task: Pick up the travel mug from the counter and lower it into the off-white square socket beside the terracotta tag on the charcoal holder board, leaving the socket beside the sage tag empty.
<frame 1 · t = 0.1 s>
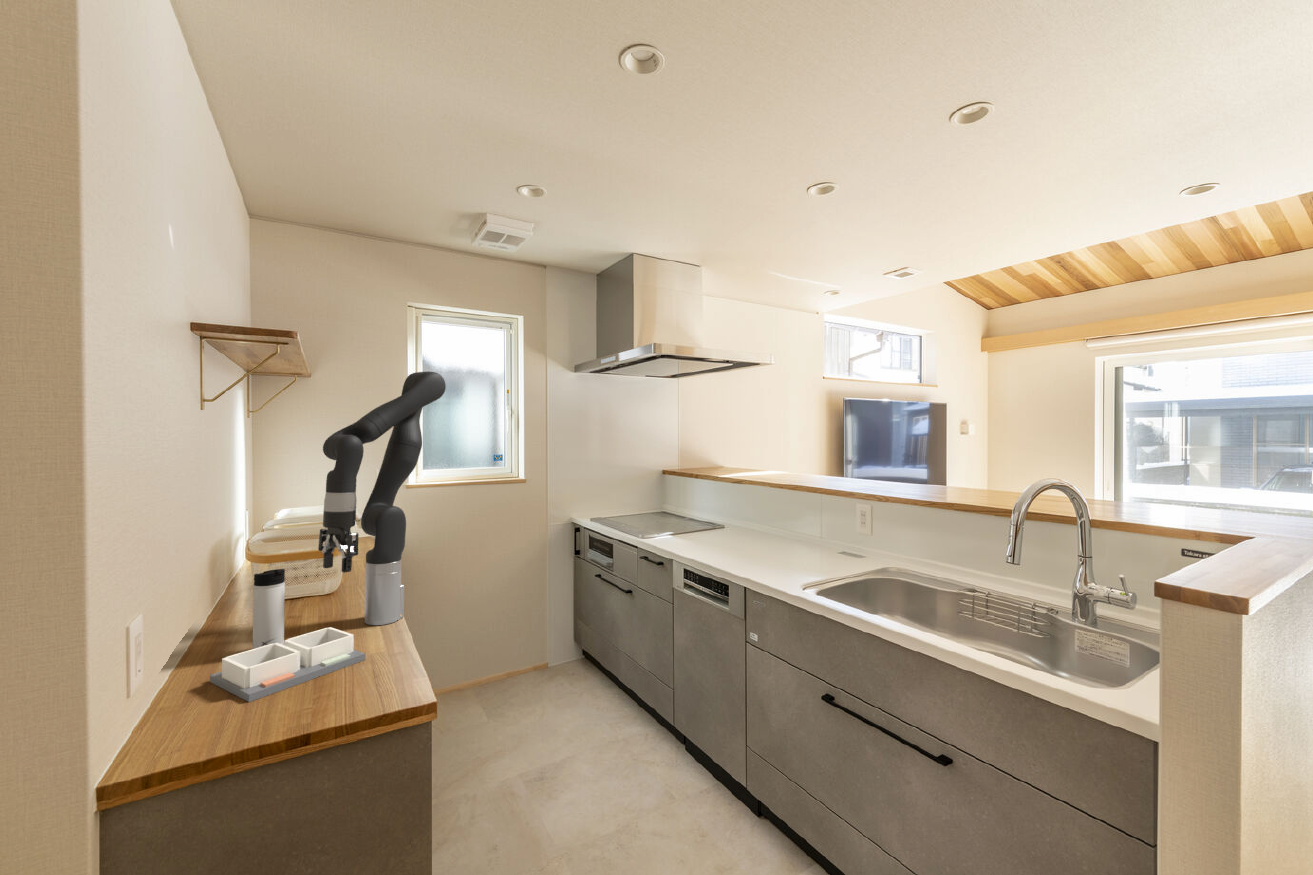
hand: (336, 569, 144), 17 cm above the counter, tool pointing down, fingers open, 8 cm apart
travel mug: (268, 651, 132), on the counter
holder board: (291, 670, 122), on the counter
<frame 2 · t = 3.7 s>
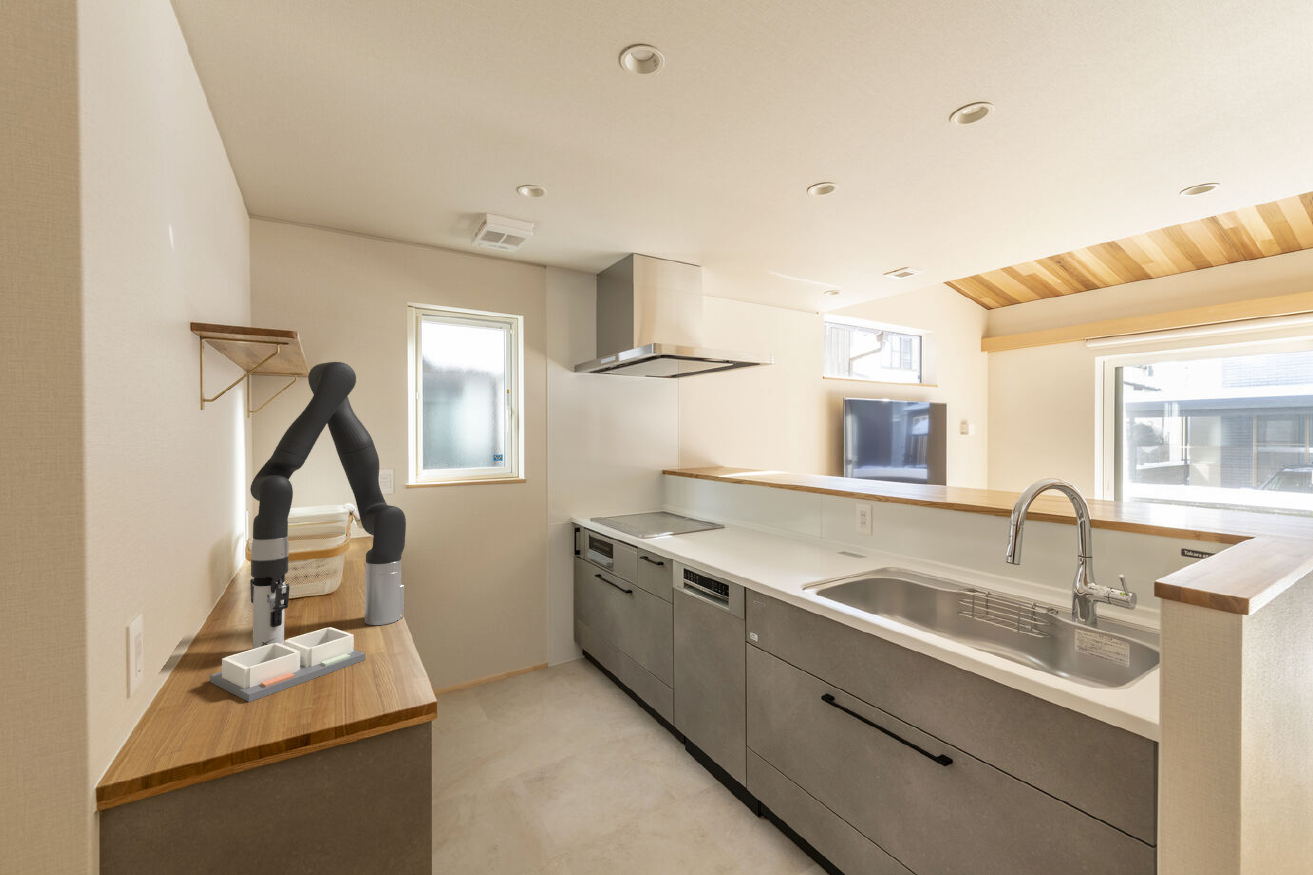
hand: (268, 623, 132), 7 cm above the counter, tool pointing down, fingers closed on travel mug, 6 cm apart
travel mug: (268, 651, 132), on the counter, touching gripper
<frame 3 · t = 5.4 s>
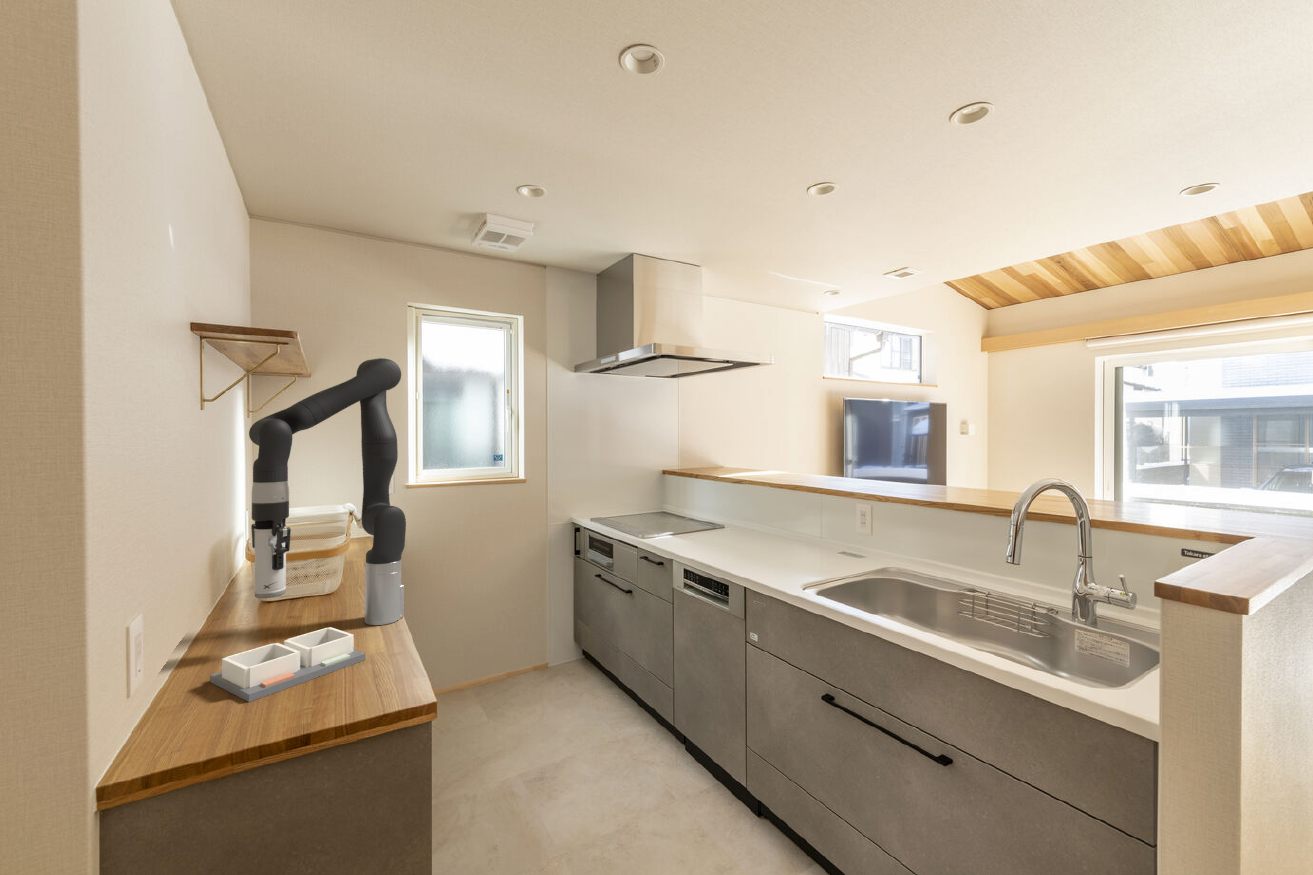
hand: (270, 567, 132), 20 cm above the counter, tool pointing down, fingers closed on travel mug, 6 cm apart
travel mug: (271, 595, 132), point 14 cm above the counter, touching gripper
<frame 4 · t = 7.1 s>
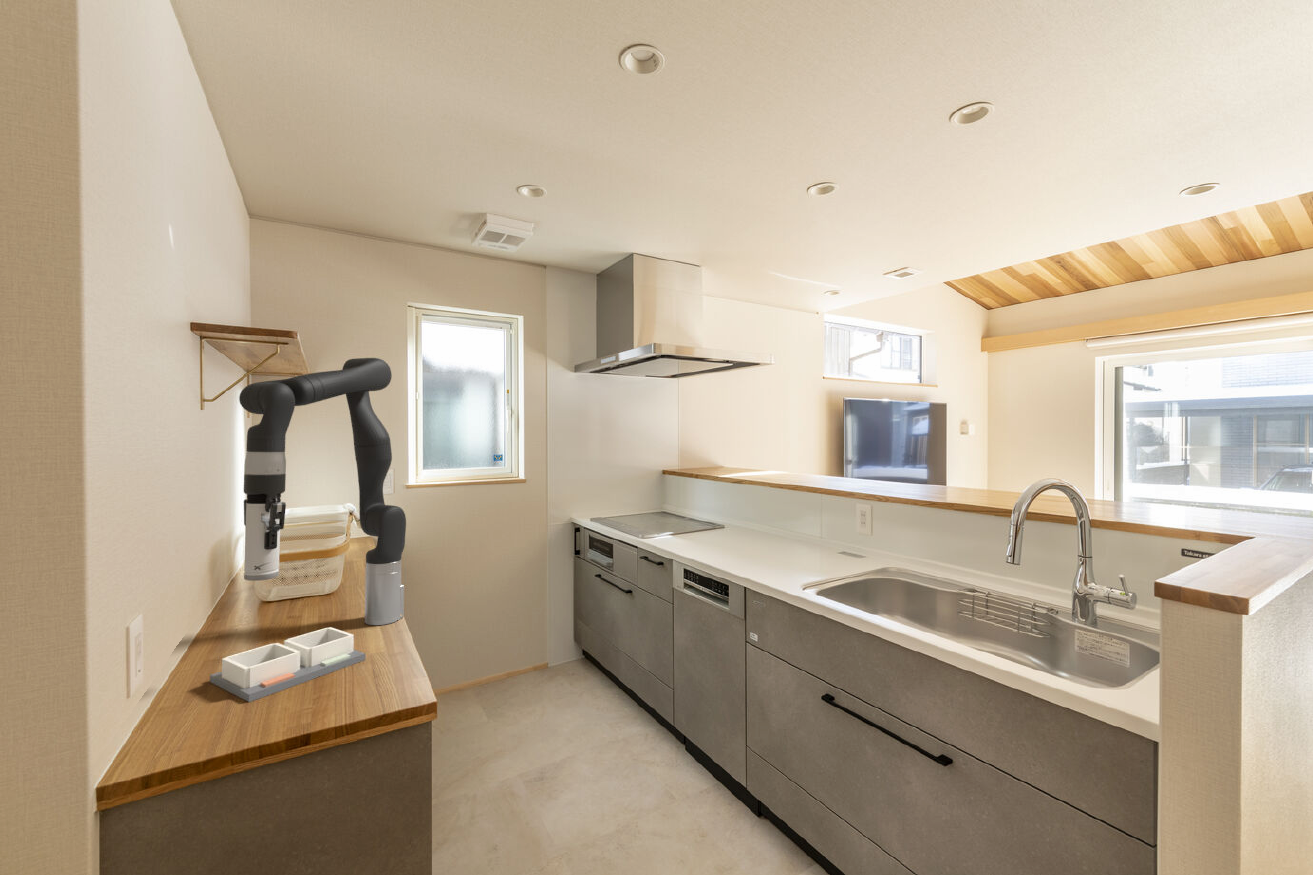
hand: (262, 547, 120), 28 cm above the counter, tool pointing down, fingers closed on travel mug, 6 cm apart
travel mug: (262, 578, 119), point 21 cm above the counter, touching gripper
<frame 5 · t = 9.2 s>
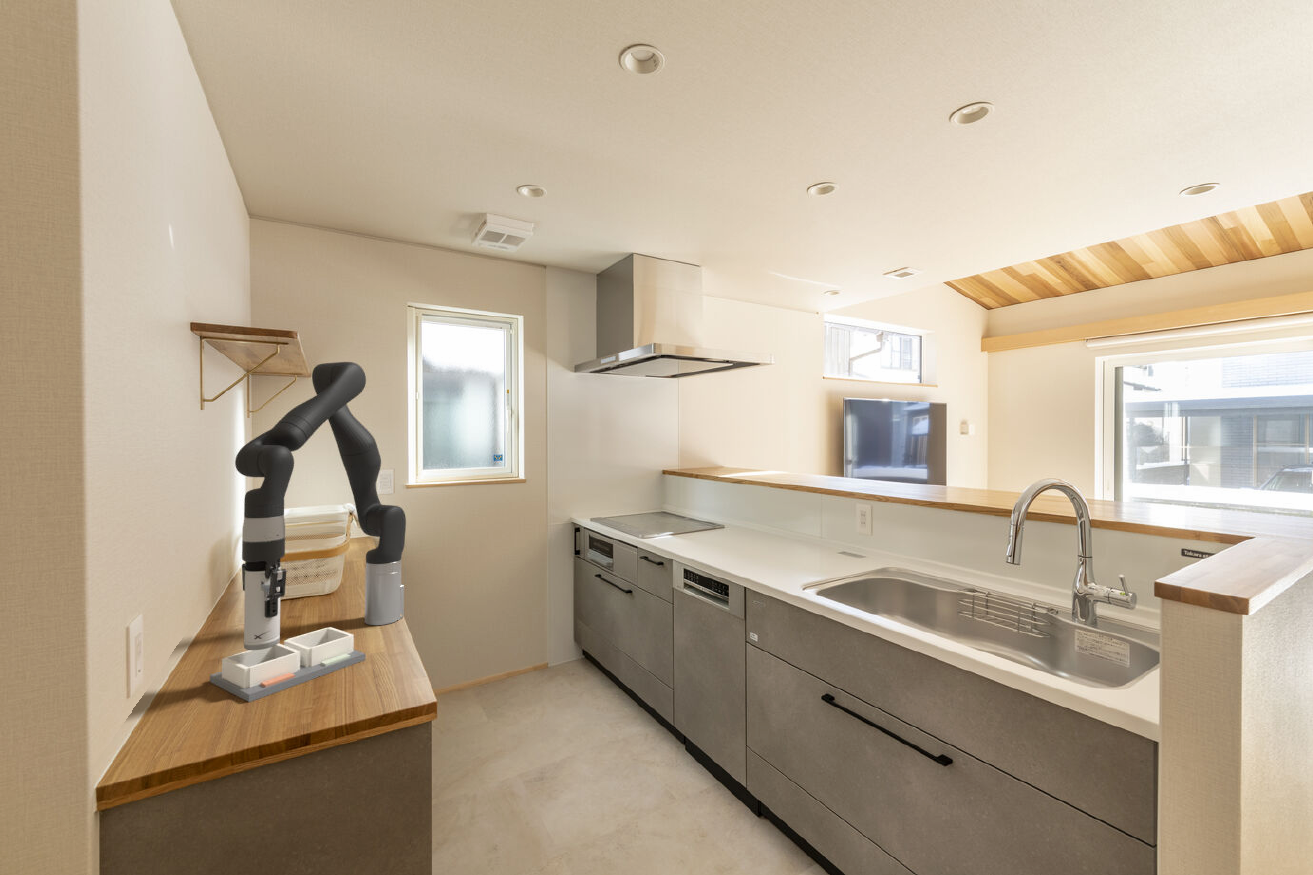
hand: (263, 613, 117), 14 cm above the counter, tool pointing down, fingers closed on travel mug, 6 cm apart
travel mug: (262, 645, 116), point 7 cm above the counter, touching gripper
when the fingers open (10 cm above the counter, at t = 10.8 s): travel mug drops 1 cm, resting on holder board.
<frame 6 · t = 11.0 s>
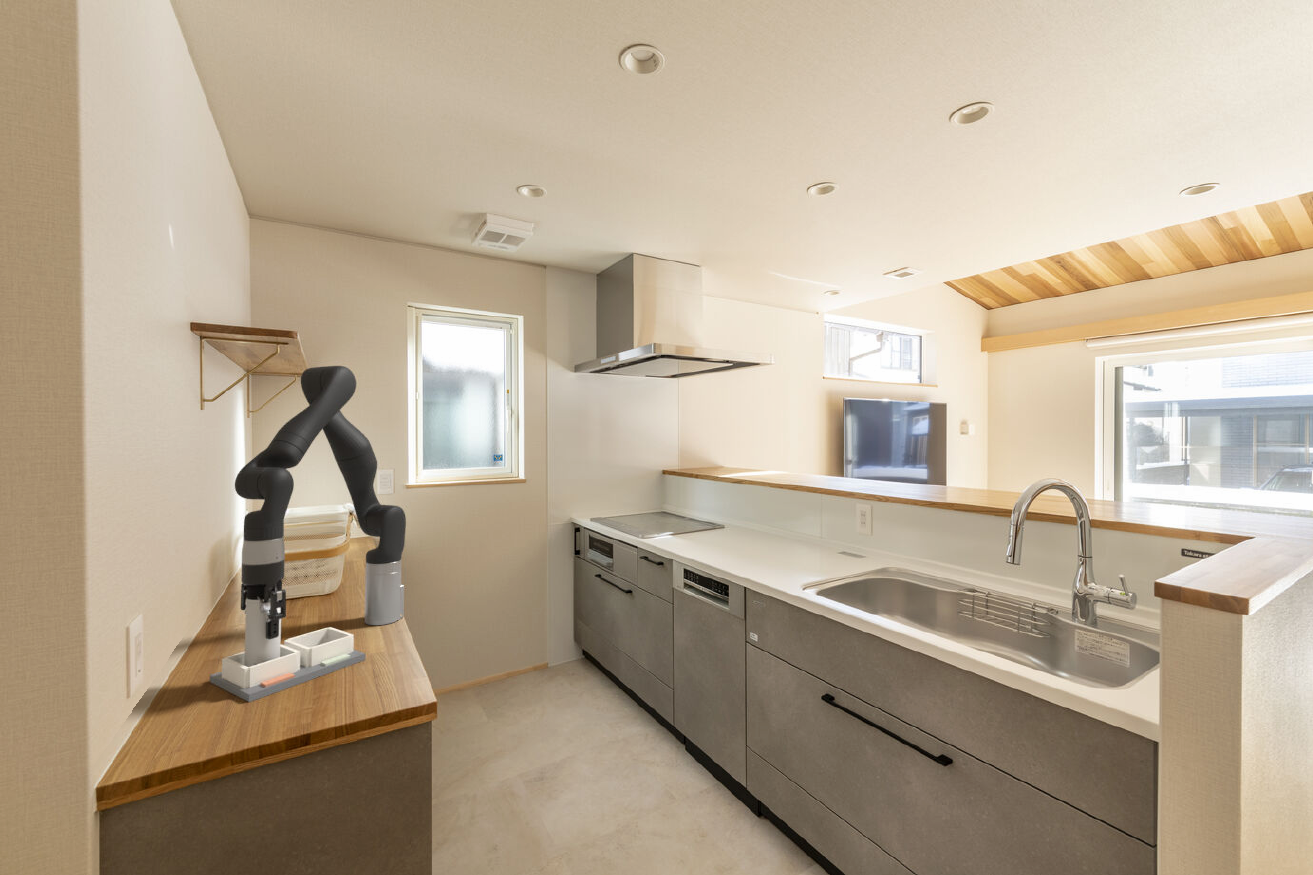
hand: (262, 634, 116), 10 cm above the counter, tool pointing down, fingers open, 8 cm apart
travel mug: (262, 674, 116), point 1 cm above the counter, touching holder board
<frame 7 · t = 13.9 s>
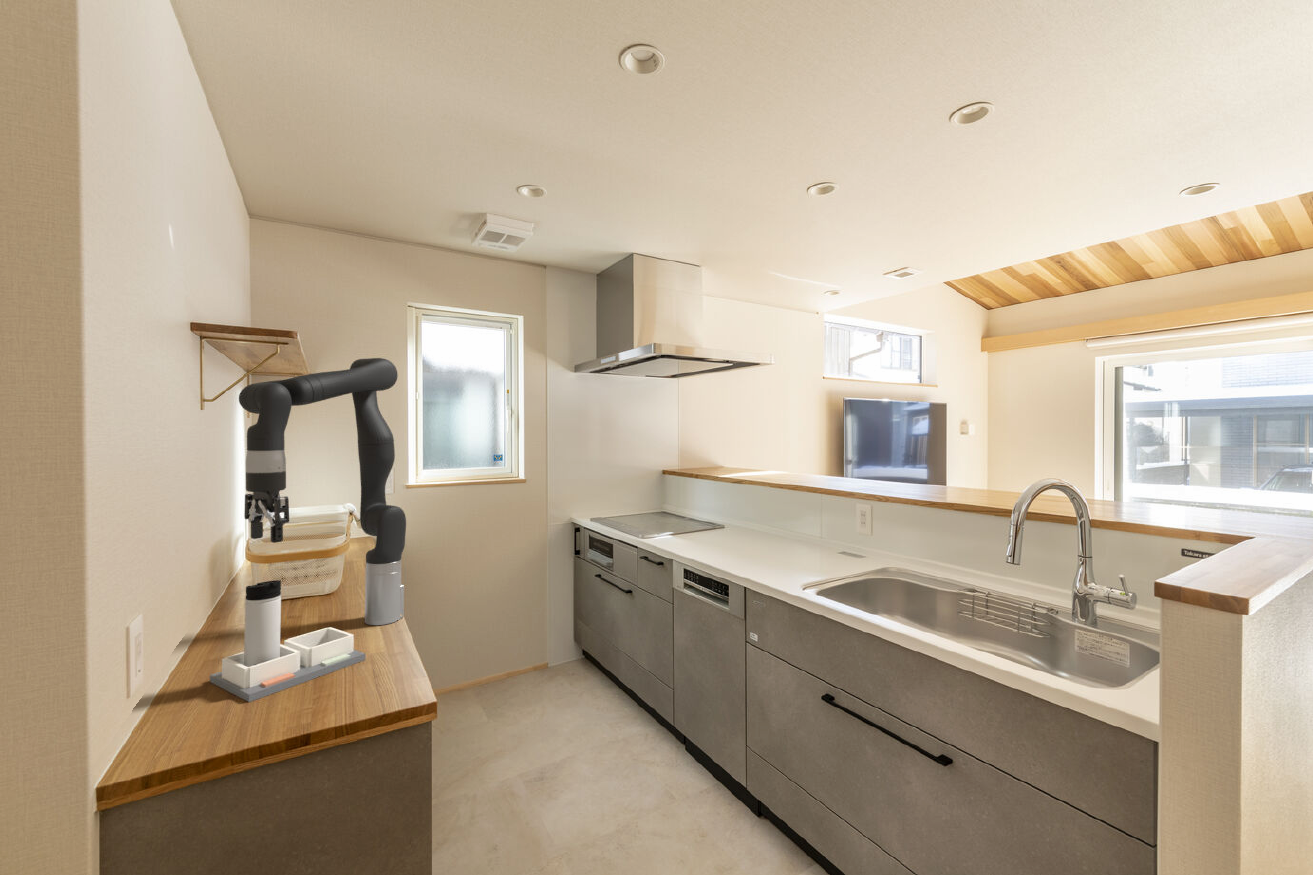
hand: (266, 540, 124), 29 cm above the counter, tool pointing down, fingers open, 8 cm apart
nothing on the counter moved.
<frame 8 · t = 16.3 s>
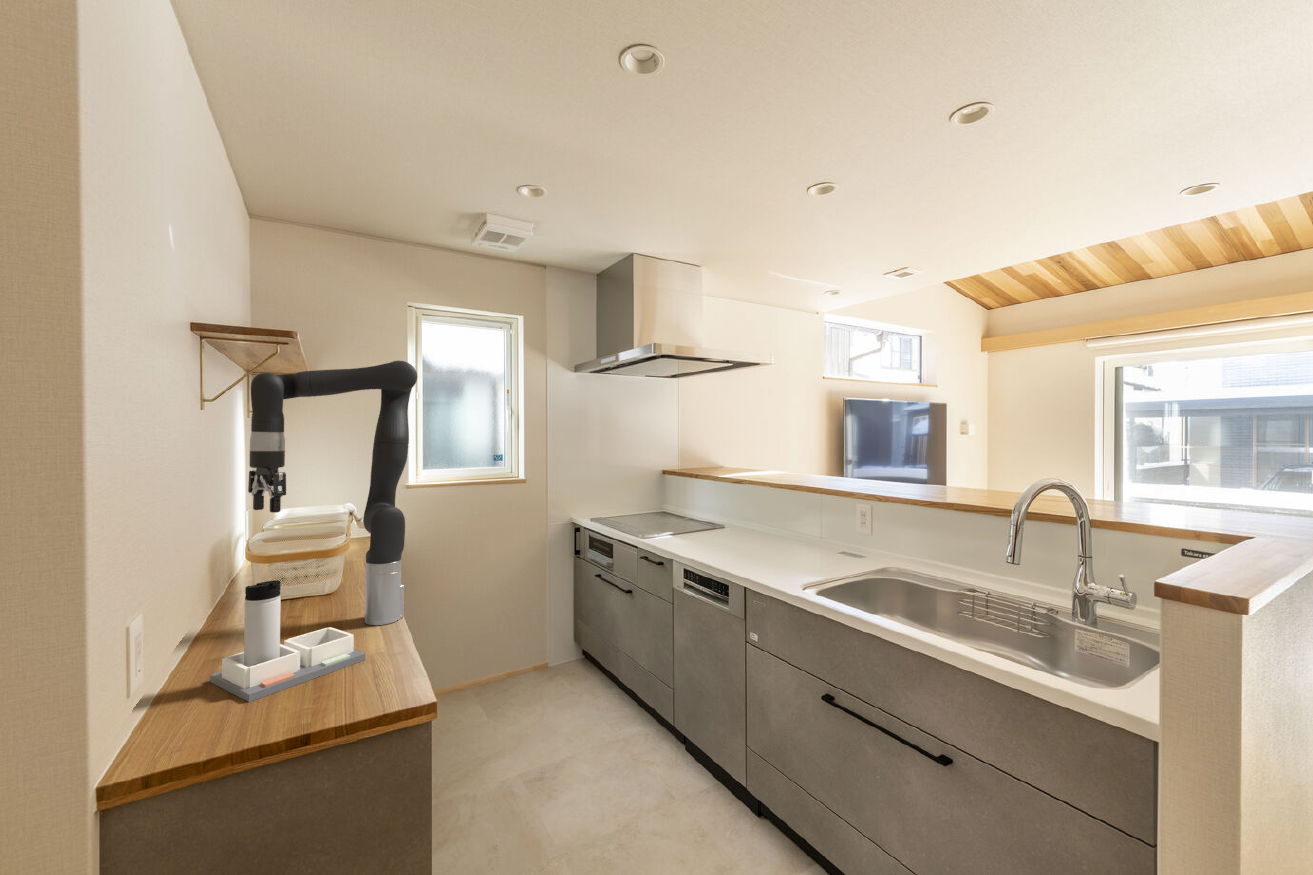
hand: (266, 510, 141), 33 cm above the counter, tool pointing down, fingers open, 8 cm apart
nothing on the counter moved.
at the end: travel mug 0.1 cm from the target spot on the holder board, point 1.3 cm above the holder board's base; travel mug tilted 0°; the gripper is holding nothing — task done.
